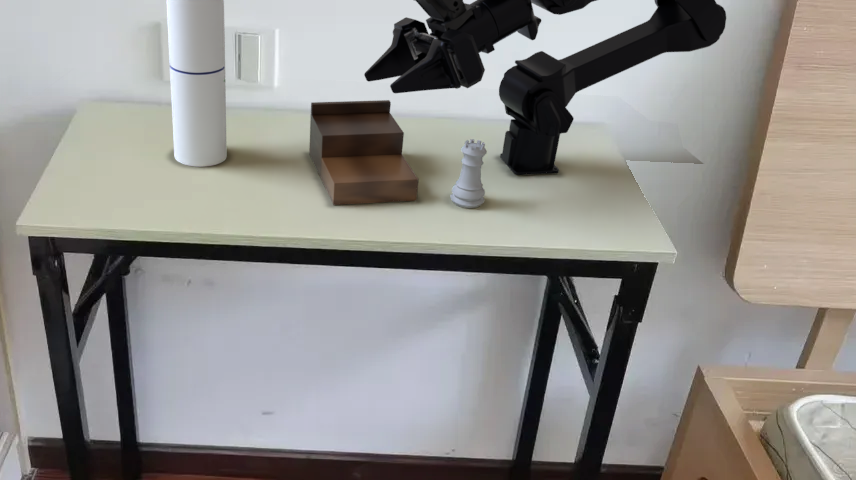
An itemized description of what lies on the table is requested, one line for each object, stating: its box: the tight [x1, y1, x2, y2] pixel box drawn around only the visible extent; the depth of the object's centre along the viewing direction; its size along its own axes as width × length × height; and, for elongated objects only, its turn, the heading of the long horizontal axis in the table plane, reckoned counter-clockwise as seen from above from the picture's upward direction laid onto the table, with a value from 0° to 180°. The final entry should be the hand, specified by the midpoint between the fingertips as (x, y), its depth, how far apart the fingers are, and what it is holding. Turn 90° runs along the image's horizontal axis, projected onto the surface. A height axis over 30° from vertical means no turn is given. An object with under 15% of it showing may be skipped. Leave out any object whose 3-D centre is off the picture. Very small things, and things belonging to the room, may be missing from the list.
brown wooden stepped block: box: [308, 99, 419, 206], centre depth 127 cm, size 11×16×8 cm
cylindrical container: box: [165, 0, 228, 168], centre depth 125 cm, size 7×7×25 cm
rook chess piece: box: [449, 138, 488, 209], centre depth 122 cm, size 4×4×8 cm
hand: (378, 83), depth 119 cm, fingers open, 9 cm apart
